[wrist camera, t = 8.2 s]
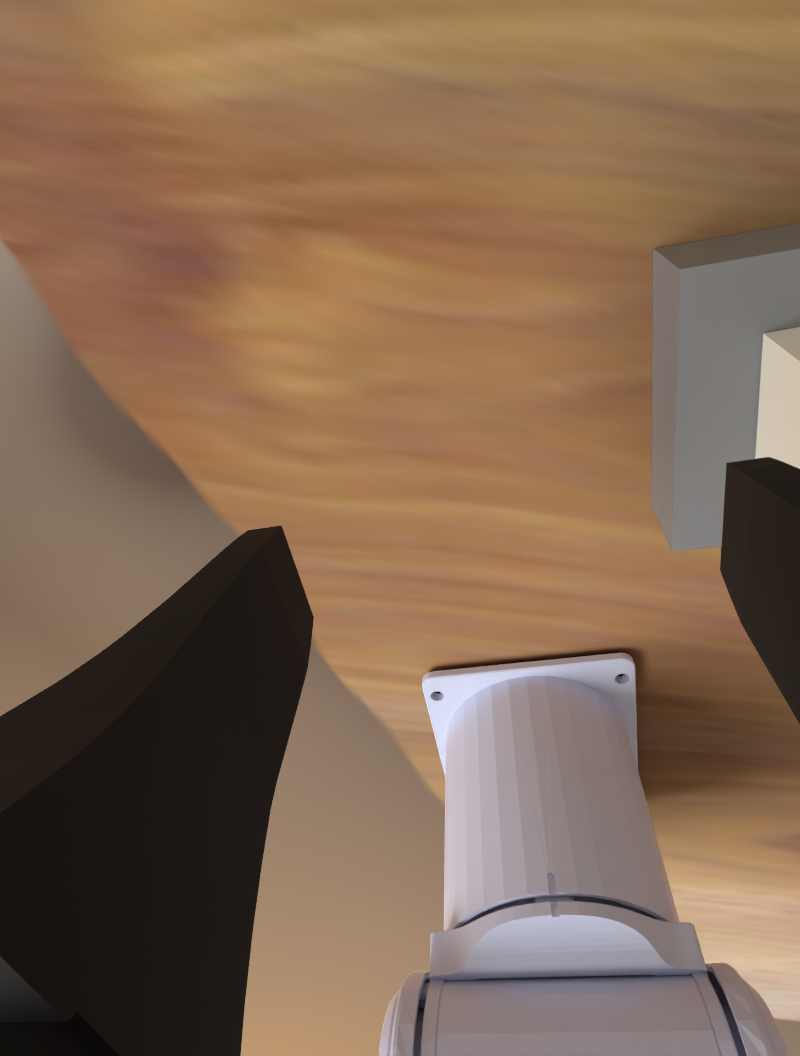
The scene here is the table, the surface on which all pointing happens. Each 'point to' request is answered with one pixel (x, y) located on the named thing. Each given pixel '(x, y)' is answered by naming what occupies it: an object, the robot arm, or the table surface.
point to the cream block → (780, 398)
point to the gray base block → (712, 367)
